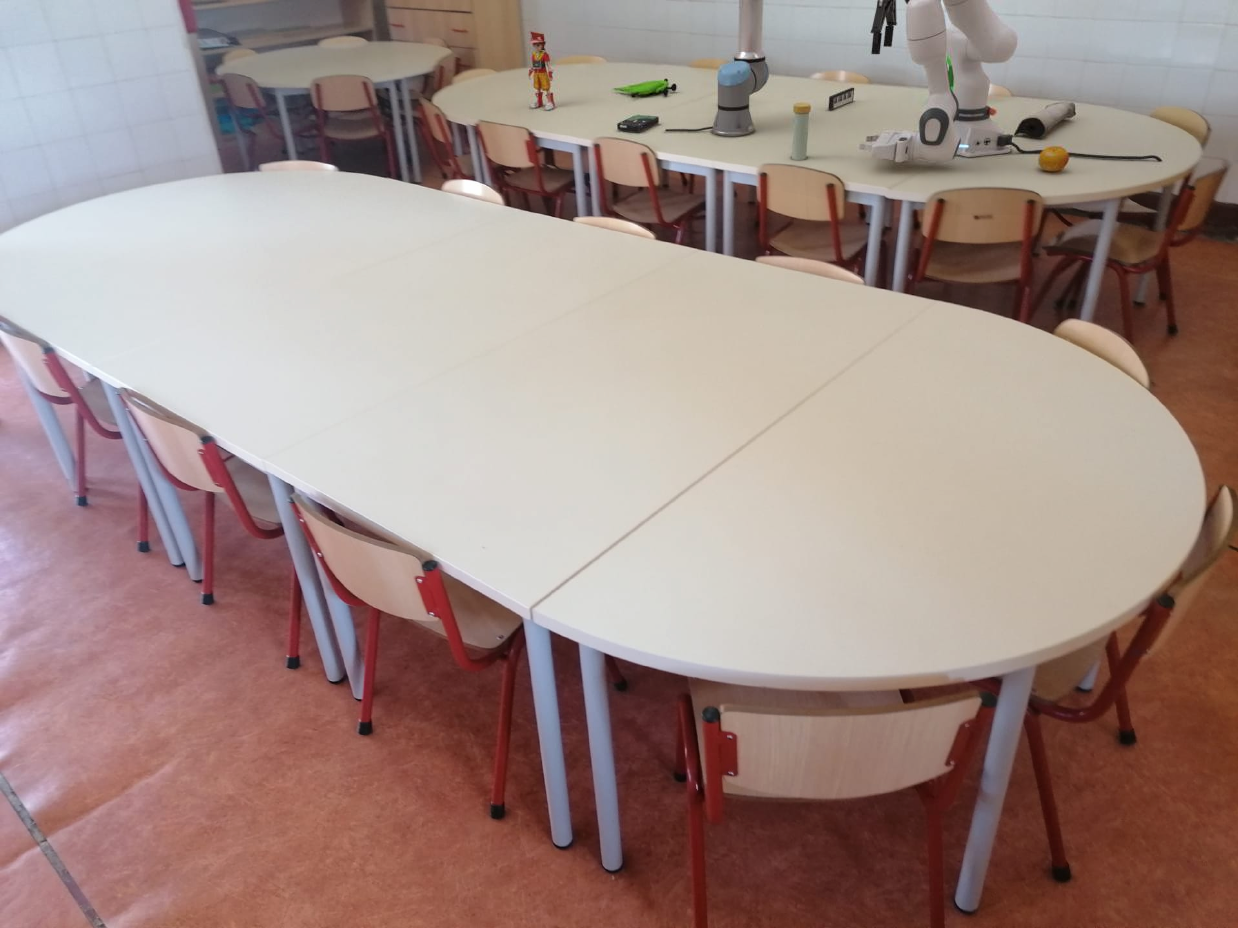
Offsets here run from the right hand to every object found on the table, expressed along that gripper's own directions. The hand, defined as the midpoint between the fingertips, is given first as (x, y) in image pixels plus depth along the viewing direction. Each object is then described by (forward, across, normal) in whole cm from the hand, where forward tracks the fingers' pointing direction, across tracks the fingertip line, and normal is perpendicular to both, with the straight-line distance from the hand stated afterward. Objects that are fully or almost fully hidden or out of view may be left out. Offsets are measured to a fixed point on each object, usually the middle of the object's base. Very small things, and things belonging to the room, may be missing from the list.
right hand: (863, 142), depth 293 cm
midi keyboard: (+25, -73, +6) cm, 77 cm away
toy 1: (+145, -42, +7) cm, 152 cm away
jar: (+21, 0, +7) cm, 22 cm away
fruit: (-58, -7, +6) cm, 59 cm away
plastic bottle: (-16, -88, +6) cm, 90 cm away
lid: (+21, 0, -10) cm, 23 cm away
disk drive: (+92, -23, +7) cm, 95 cm away
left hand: (+4, -35, -22) cm, 41 cm away
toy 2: (+115, -78, +7) cm, 139 cm away
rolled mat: (-52, -57, +6) cm, 78 cm away
